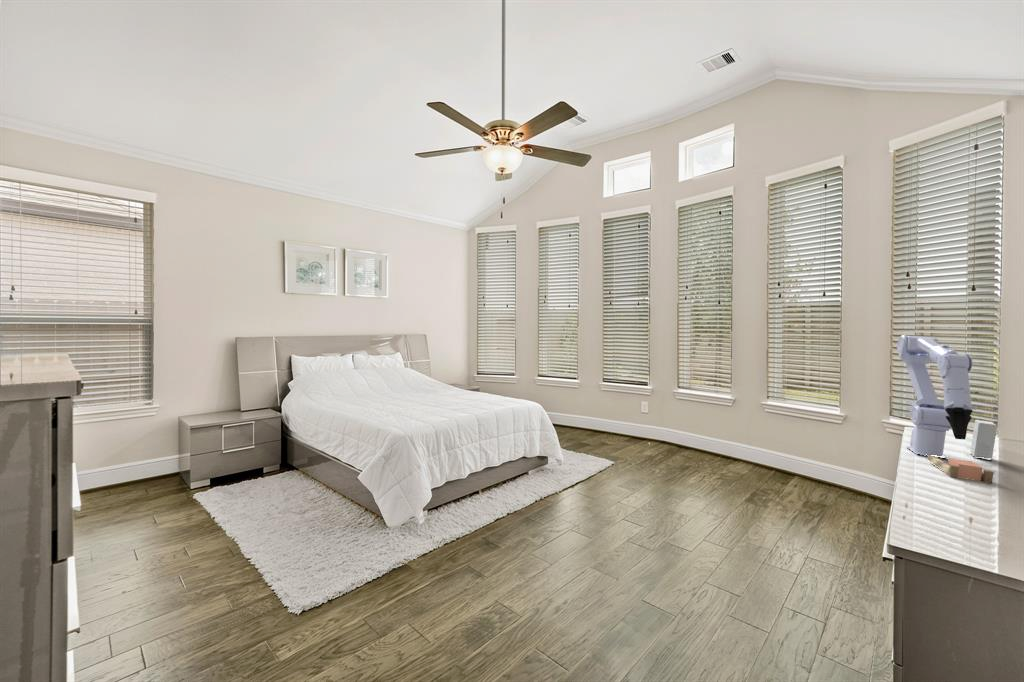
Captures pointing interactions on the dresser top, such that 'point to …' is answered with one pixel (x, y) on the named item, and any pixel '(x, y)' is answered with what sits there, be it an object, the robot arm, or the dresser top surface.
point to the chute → (953, 469)
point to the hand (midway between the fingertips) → (960, 436)
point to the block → (967, 469)
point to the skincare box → (983, 439)
